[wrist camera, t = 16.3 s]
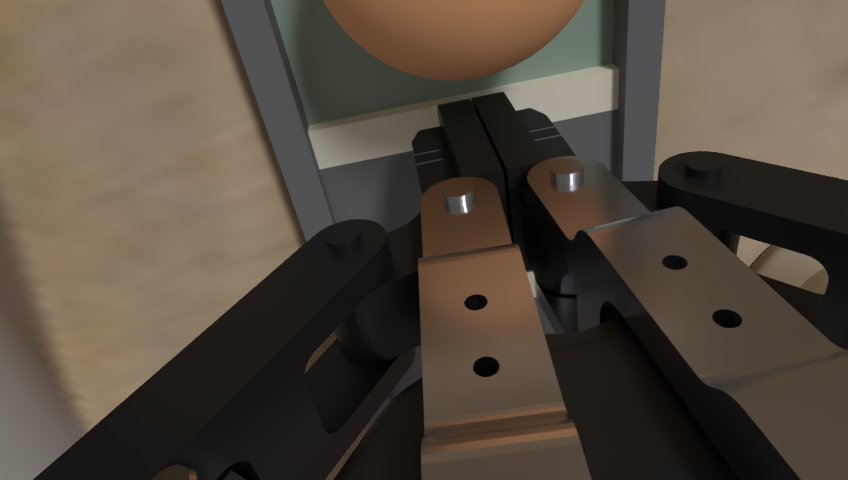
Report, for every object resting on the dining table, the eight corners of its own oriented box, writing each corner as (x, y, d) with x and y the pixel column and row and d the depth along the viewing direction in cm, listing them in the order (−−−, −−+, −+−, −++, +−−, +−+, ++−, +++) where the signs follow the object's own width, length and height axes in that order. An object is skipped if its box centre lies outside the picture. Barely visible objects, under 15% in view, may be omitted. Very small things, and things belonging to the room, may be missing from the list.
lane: (623, 434, 22) (656, 506, 20) (397, 479, 22) (403, 556, 20) (672, -535, 9) (799, -685, 6) (93, -410, 9) (-9, -511, 6)
